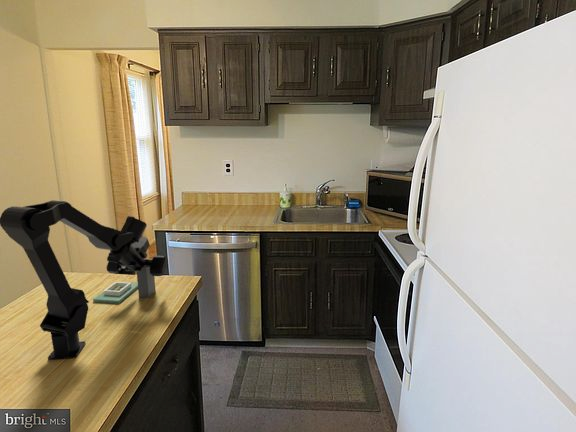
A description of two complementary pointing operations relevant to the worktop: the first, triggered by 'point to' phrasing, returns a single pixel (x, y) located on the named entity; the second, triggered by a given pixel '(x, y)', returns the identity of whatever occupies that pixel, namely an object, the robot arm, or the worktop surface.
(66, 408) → the worktop surface
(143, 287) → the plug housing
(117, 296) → the board
